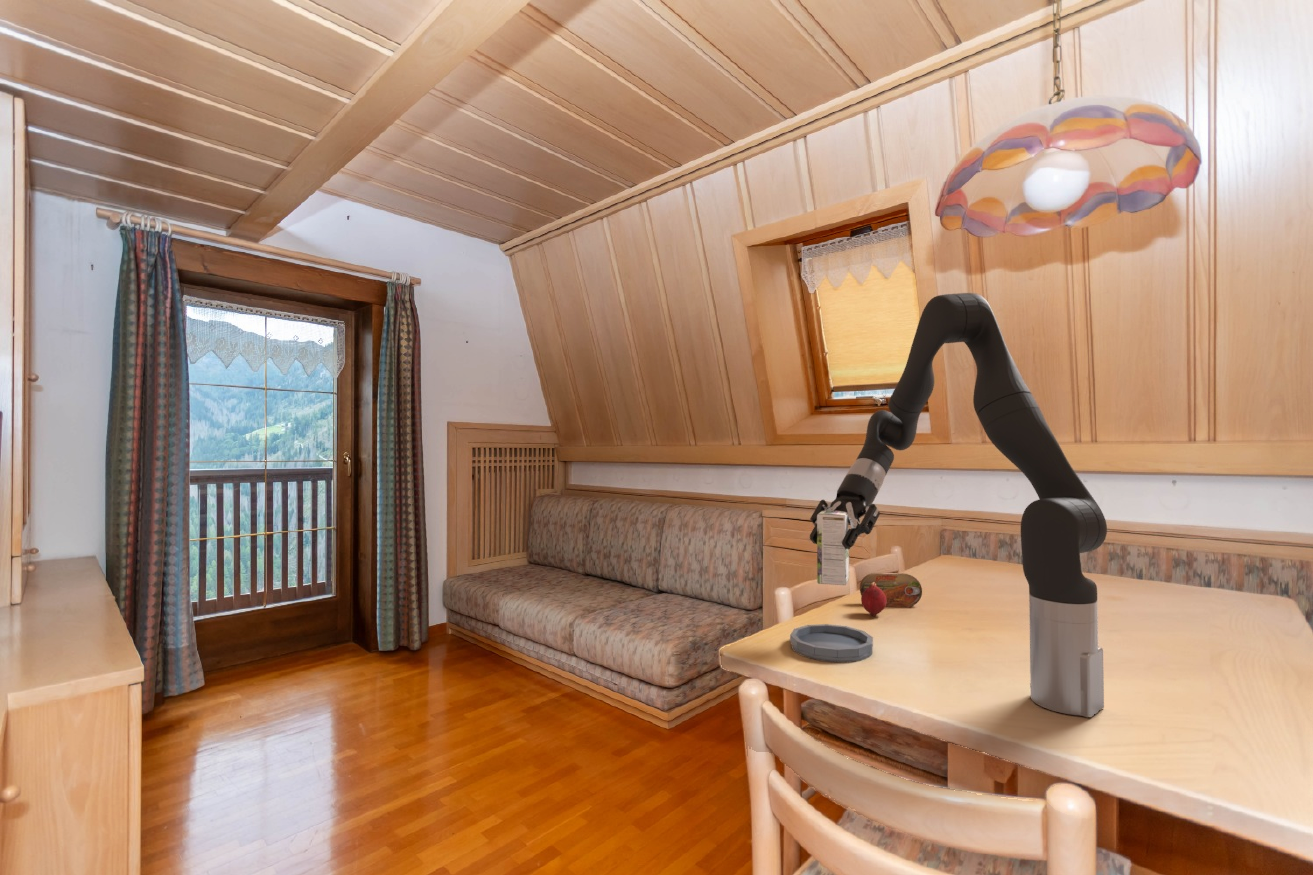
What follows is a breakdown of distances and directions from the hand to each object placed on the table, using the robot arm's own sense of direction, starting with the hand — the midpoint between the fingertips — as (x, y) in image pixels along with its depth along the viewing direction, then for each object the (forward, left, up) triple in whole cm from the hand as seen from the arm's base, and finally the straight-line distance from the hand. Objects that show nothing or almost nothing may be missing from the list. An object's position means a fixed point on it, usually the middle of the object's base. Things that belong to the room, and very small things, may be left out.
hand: (828, 543), depth 127 cm
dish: (0, 0, -22) cm, 22 cm away
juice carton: (0, -1, -8) cm, 8 cm away
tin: (+11, -39, -22) cm, 46 cm away
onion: (+8, -27, -22) cm, 36 cm away
